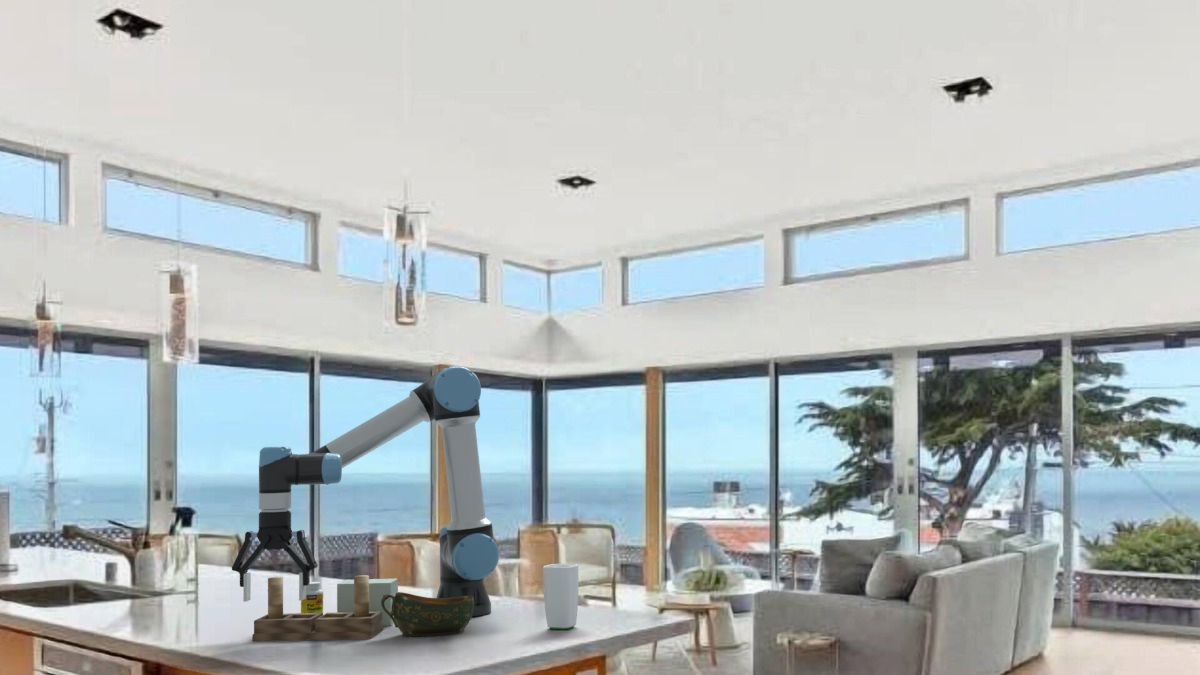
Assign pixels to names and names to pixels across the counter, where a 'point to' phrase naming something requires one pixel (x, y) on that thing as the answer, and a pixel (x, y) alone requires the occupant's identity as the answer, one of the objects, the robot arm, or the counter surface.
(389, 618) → the pale green boxy piece
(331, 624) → the wooden compartment tray
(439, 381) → the robot arm
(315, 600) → the supplement bottle
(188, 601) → the counter surface
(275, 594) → the peg
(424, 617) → the green gravy boat
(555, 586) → the cup
